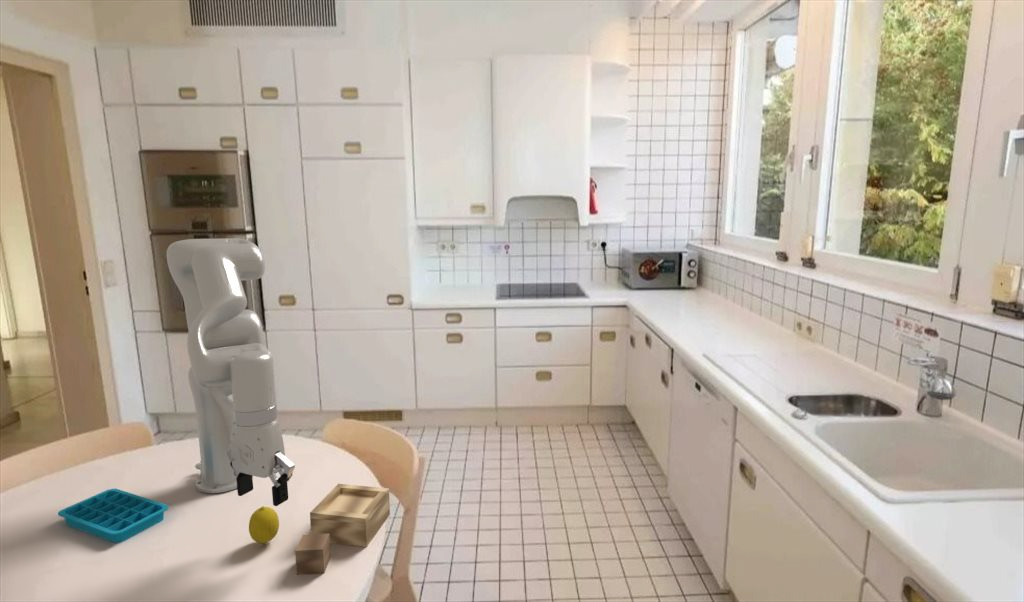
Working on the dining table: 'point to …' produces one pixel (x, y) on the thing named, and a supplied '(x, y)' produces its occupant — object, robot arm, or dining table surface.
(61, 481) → the dining table surface
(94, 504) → the ice cube tray
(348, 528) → the oak tray
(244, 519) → the dining table surface
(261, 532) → the lemon
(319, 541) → the walnut cube
